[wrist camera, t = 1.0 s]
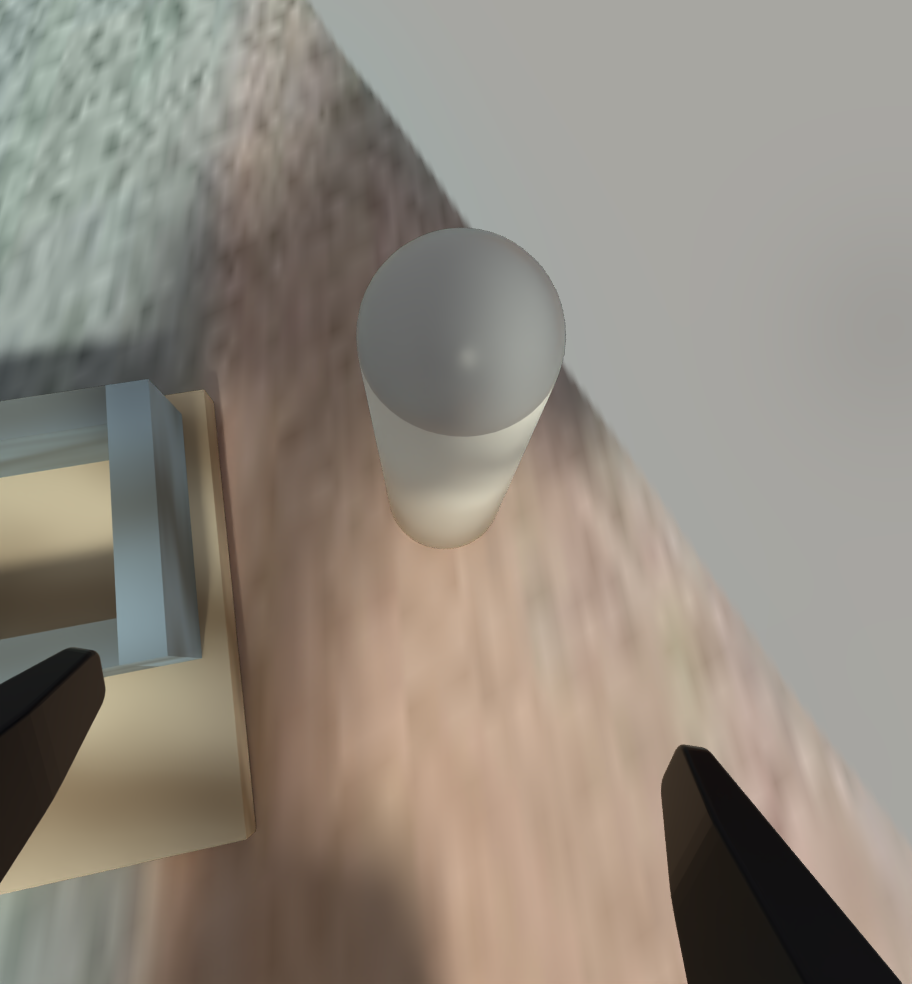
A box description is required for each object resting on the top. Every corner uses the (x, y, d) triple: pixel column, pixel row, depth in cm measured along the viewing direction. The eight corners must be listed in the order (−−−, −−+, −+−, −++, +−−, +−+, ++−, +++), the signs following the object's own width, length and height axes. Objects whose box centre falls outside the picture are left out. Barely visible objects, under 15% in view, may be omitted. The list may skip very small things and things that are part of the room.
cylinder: (509, 537, 24) (616, 368, 11) (398, 558, 24) (363, 408, 10) (487, 434, 26) (557, 163, 12) (380, 452, 25) (327, 191, 12)
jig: (255, 830, 21) (216, 867, 17) (-90, 907, 20) (-219, 965, 16) (213, 402, 25) (173, 351, 21) (-74, 446, 24) (-174, 402, 20)
